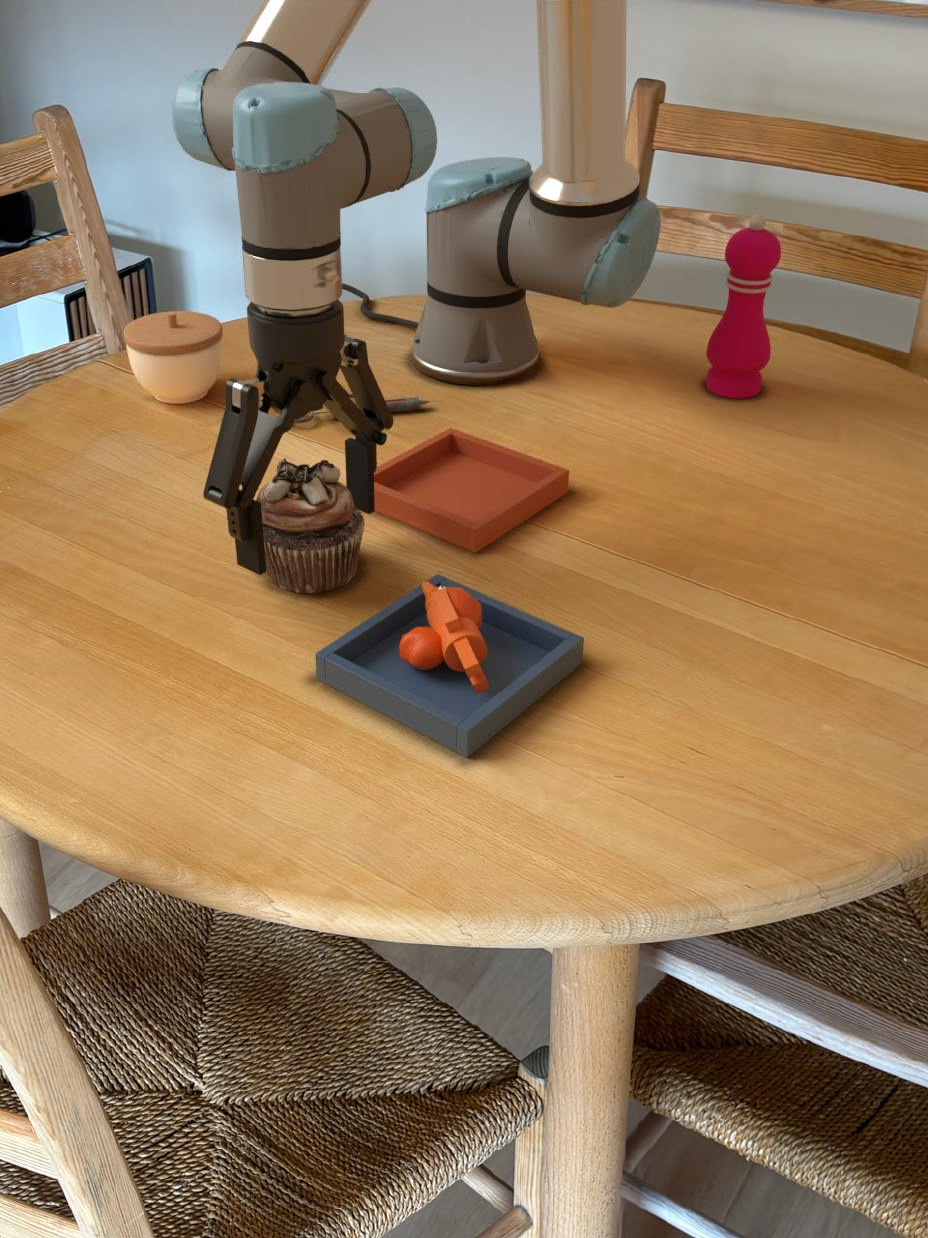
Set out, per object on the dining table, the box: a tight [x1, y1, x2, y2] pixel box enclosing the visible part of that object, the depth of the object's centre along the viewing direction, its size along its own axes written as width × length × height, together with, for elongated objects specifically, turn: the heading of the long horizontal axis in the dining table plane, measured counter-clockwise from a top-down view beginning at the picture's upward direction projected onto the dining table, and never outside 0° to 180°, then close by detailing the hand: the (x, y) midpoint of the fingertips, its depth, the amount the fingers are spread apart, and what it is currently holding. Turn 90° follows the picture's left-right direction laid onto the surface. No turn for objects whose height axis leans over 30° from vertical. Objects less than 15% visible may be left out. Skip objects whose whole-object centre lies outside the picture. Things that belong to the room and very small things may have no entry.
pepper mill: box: [705, 214, 782, 399], centre depth 139 cm, size 7×7×20 cm
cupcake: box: [256, 457, 366, 595], centre depth 108 cm, size 10×10×10 cm
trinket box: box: [122, 310, 224, 405], centre depth 139 cm, size 11×11×9 cm
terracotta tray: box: [374, 427, 570, 554], centre depth 122 cm, size 15×15×2 cm
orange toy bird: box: [399, 580, 490, 694], centre depth 97 cm, size 5×8×12 cm
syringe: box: [293, 392, 444, 425], centre depth 137 cm, size 8×18×2 cm, turn 105°
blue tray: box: [314, 573, 585, 759], centre depth 98 cm, size 15×15×2 cm
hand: (308, 537), depth 109 cm, fingers open, 13 cm apart
